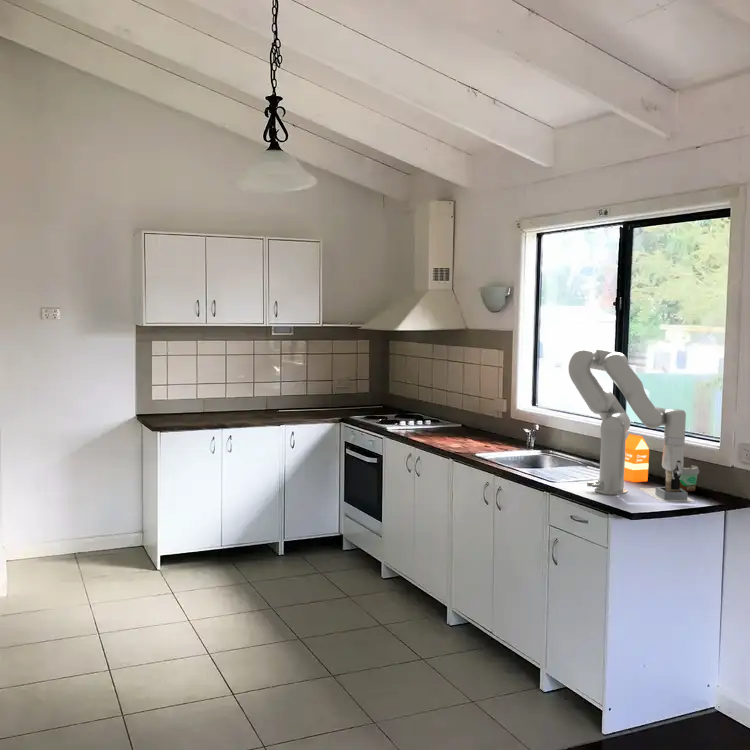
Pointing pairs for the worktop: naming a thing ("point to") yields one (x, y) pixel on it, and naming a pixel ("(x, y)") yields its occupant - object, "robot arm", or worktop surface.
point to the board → (652, 492)
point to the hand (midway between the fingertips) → (672, 487)
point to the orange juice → (636, 459)
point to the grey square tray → (671, 494)
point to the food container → (689, 478)
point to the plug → (669, 481)
